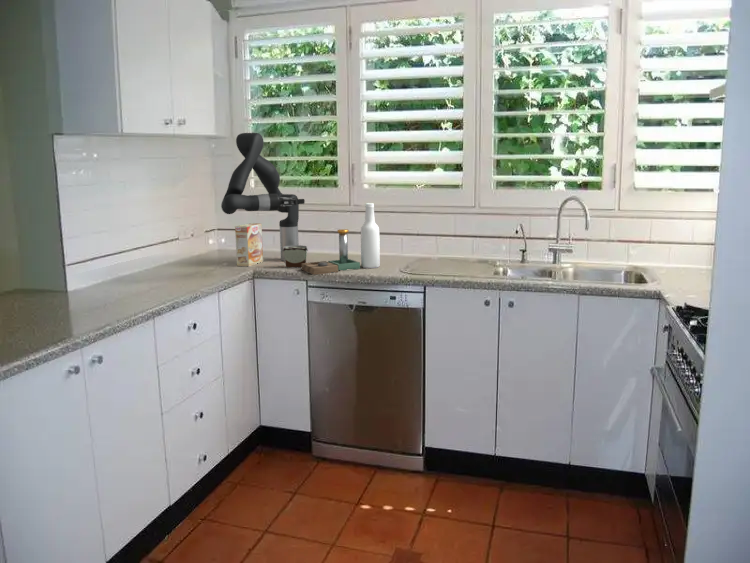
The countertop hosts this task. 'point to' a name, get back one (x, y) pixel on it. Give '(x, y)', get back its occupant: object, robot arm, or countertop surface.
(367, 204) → the alcohol
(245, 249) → the coffeecake box
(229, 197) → the robot arm
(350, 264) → the tray
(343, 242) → the pin
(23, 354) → the countertop surface
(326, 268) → the block
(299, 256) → the food container
